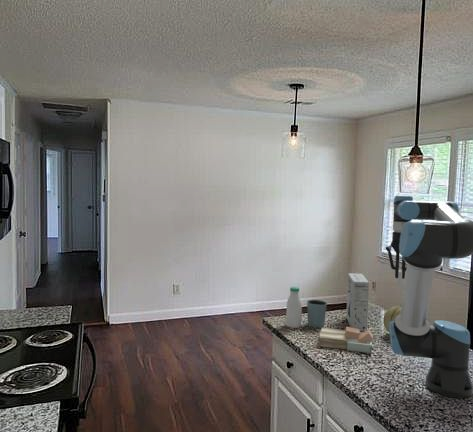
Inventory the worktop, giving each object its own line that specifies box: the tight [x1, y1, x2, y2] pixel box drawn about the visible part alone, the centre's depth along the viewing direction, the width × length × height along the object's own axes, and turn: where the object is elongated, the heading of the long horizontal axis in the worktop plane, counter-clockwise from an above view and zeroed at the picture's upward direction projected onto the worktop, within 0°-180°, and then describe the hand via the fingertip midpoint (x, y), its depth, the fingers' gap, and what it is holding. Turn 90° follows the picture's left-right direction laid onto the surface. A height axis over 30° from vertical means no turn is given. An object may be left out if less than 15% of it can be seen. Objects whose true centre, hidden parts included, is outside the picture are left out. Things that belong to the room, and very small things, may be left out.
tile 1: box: [345, 326, 361, 340], centre depth 190 cm, size 6×6×3 cm
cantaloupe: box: [382, 305, 401, 334], centre depth 202 cm, size 15×15×15 cm
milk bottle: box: [285, 286, 303, 329], centre depth 214 cm, size 8×8×20 cm
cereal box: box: [345, 272, 370, 332], centre depth 219 cm, size 22×8×25 cm, turn 172°
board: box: [318, 327, 348, 350], centre depth 192 cm, size 14×12×4 cm
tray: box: [346, 331, 373, 354], centre depth 189 cm, size 16×10×4 cm, turn 164°
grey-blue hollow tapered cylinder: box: [306, 299, 328, 328], centre depth 217 cm, size 10×10×12 cm
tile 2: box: [358, 328, 374, 344], centre depth 189 cm, size 6×6×3 cm
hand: (399, 285), depth 180 cm, fingers closed
